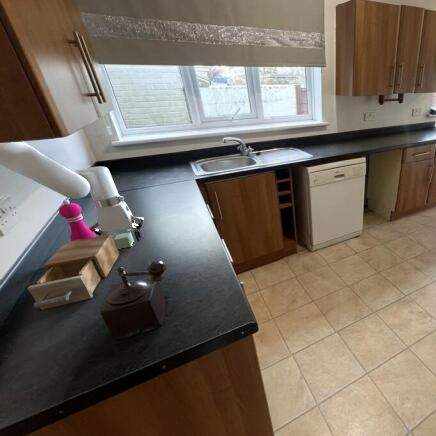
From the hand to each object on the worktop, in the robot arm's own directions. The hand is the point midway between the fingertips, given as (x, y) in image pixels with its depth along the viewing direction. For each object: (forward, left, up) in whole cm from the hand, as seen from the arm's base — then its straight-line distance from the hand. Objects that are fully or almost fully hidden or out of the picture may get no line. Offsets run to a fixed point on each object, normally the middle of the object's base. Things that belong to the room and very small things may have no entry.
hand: (125, 241), depth 105 cm
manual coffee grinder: (+17, -47, -2) cm, 50 cm away
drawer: (-6, -29, -1) cm, 30 cm away
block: (0, 0, -2) cm, 2 cm away
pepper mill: (-14, +5, -2) cm, 15 cm away
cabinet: (-6, -16, -2) cm, 17 cm away
